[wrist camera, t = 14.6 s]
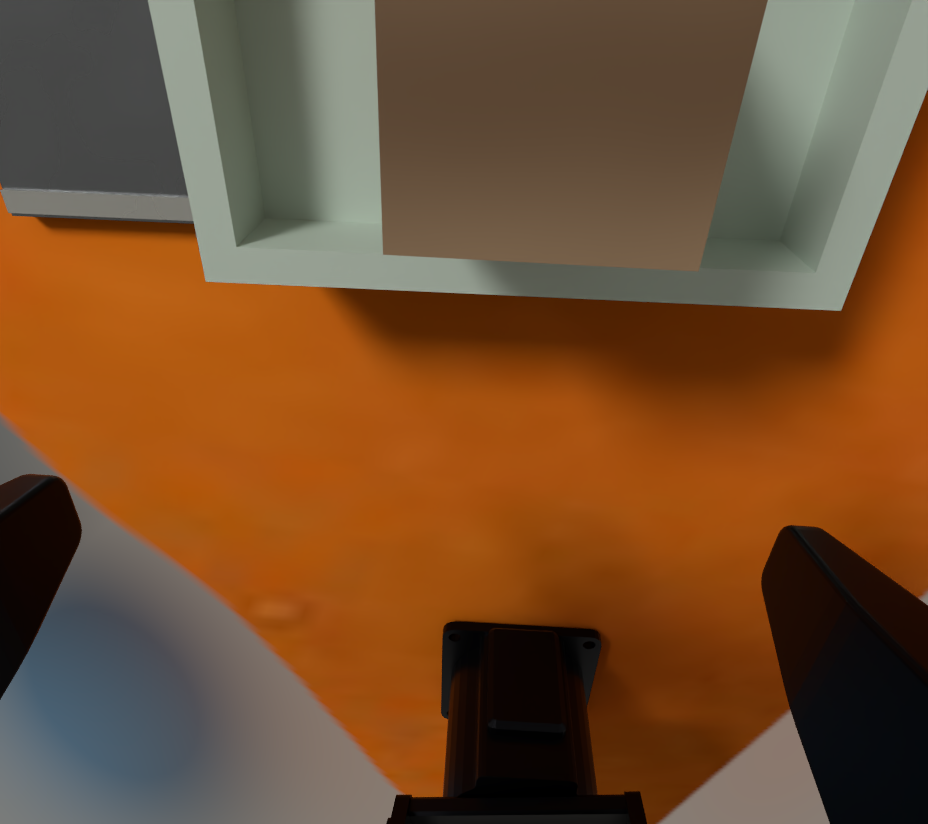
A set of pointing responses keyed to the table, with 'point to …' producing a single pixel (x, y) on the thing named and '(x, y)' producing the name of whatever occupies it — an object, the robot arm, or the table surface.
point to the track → (86, 114)
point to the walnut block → (558, 126)
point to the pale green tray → (365, 267)
